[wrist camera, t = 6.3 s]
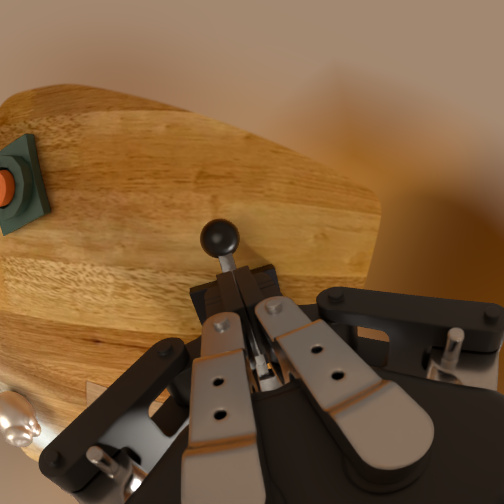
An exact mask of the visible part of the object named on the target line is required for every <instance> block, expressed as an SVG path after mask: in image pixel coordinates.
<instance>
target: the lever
mask: <svg viewBox="0 0 504 504" xmlns="http://www.w3.org/2000/svg"><path fill="white" fill-rule="evenodd" d="M200 242H201V246H202V248H203V250H204V251H205V252H206V253H207V254H208V255H210V256H211V257H214V258H219V262H220V265H221V268H222V272H223V273H225V272H228V271H231V272H232V274H233V270H234V269H236V266H235V262H234V259H233V256H232V254H233V253H234V252H235V251H236V249H237V248H238V246H239V242H240V235H239V232H238V229H237V228H236V226H235V225H234V224H233V223H232V222H230V221H228V220H226V219H214V220H212V221H210V222H208V223H207V224H206V225H205V226H204V228H203V229H202V232H201V235H200ZM233 277H234V274H233ZM234 280H235V277H234ZM235 283H236V281H235ZM236 286H237V284H236ZM250 328H251V327H250ZM251 331H252V330H251ZM252 334H253V332H252ZM253 337H254V335H253ZM254 340H255V338H254ZM255 344H256V347H257V350H258V353H259V356H256V357H255V360H256V368H257V371H258V375H259V380H260V384H261V389H262V391H270V390H275V389H277V388H279V387H281V385H280V383H279V381H278V380H277V378H276V376H275V374H274V372H273V370H272V369H268V367H267V364H266V360H265V357H264V354H262V355H261V354H260V351H259V349H258V346H257V343H256V341H255Z"/></svg>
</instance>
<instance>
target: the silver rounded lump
mask: <svg viewBox="0 0 504 504" xmlns="http://www.w3.org/2000/svg"><path fill="white" fill-rule="evenodd" d="M35 416H36V413H35V410H34V408H33V407H32V405H31V404H30V402H29V401H28V400H27V399H26V398H25V397H23V396H22V395H20V394H18V393H16V392H13V391H4V392H1V393H0V431H1V432H2V433H3V434H4V438H5V440H6V442H7V443H8V444H10V445H13V446H15V447H27V446H29V445H30V444H31V443H32V441H33V437H37V436H39V435H40V433H41V427H40V425H39V424H38V421H37V420H36V418H35Z"/></svg>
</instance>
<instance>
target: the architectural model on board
mask: <svg viewBox="0 0 504 504" xmlns="http://www.w3.org/2000/svg"><path fill="white" fill-rule="evenodd" d="M107 389H108V388H106V387H103V386H100V385H97V384H94V383H91V382H88V381H87V408H88V407H89V406H90V405H91V404H92V403H93V402H94V401H95V400H96V399H97V398H98V397H99V396H100V395H101V394H102V393H103V392H104V391H106V390H107ZM162 404H163V403H160V402H156V401H153V402H152V404H151V405H150V407H149V416H150V418H151V417H152V416H153V414H154V413H155V412H156V411H157V410H158V409H159V408H160V407H161V405H162Z"/></svg>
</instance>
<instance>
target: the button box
mask: <svg viewBox="0 0 504 504" xmlns="http://www.w3.org/2000/svg"><path fill="white" fill-rule="evenodd" d="M0 170H7V171H9V172H10V173H11V174H12V175H13V177H14V181H15V193H14V196H13V199H12V200H11V202H10V203H9V204H7V205H4V206H1V207H0V226H1V230H2V233H3V236H5V235H7V234H9V233H11V232H13V231H15V230H17V229H19V228H20V227H22V226H24V225H26V224H28V223H30V222H32V221H34V220H36V219H38V218H40V217H42V216H44V215H46V214H48V213H50V212H51V209H50V205H49V202H48V198H47V195H46V191H45V187H44V183H43V179H42V175H41V171H40V166H39V162H38V157H37V152H36V146H35V141H34V135H33V134H24V135H23V136H21V137H20V138H18V139H17V140H15V141H14V142H12V143H11V144H9V145H8V146H7V147H5V148H4V149H2V150H1V151H0Z"/></svg>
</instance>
